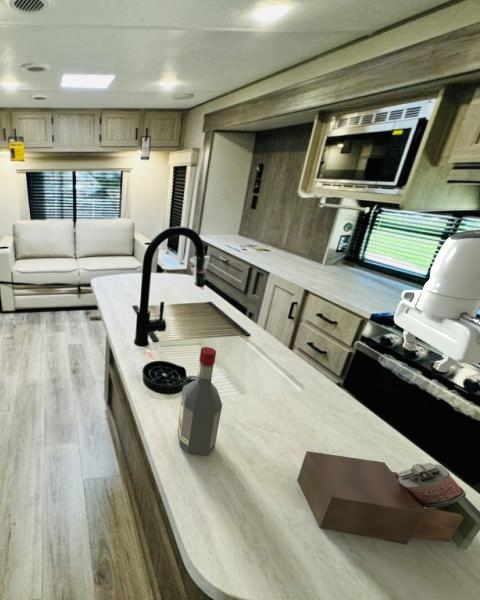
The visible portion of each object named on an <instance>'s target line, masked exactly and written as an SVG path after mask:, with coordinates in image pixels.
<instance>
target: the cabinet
mask: <svg viewBox="0 0 480 600" xmlns="http://www.w3.org/2000/svg"><path fill="white" fill-rule="evenodd" d="M393 472H394V471H392V470H391V469H390V467H389V466H388V465H387V464H386V462H384V461H378V460H370V459H364V458H358V457H357V458H356V457H351V456H344V455H337V454H331V453H322V452H315V451H308V450H306V451H305V454H304V457H303V461H302V464H301V466H300V470H299V473H298V475H297V479H296V481H297V483H298V485H299V488H300V489H301V491H302V494H303V496H304V498H305V501H306V502H307V505H308V506H309V509H310V511H311V513H312V515H313V518H314V519H315V522H316V524H317V526H318V528H319V529H323V530H327V531H333V532H337V533H343V534H349V535H354V536H360V537H365V538H370V539H375V540H380V541H387V542H391V543H397V544H402V545H408V543H409V541H410V540H411V538H412V537H413V536H412V534H413V533H414V531H415V529H416V527H417V526H418V524H419V522H420V520H421V519H422V517H423V515H424V513H425V512H424V511H423V510H422V508H421V507H420V506H419V505H418V503H417V502H416V501H415V500H414V499H413V497H412V496H411V495H410V494H409V492H408V491H407V490H406V489H405V487H404V486H403V485H402V484H401V483H400V482H399V480H398V479H397V477H396V476H395V475H394V474H393Z"/></svg>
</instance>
